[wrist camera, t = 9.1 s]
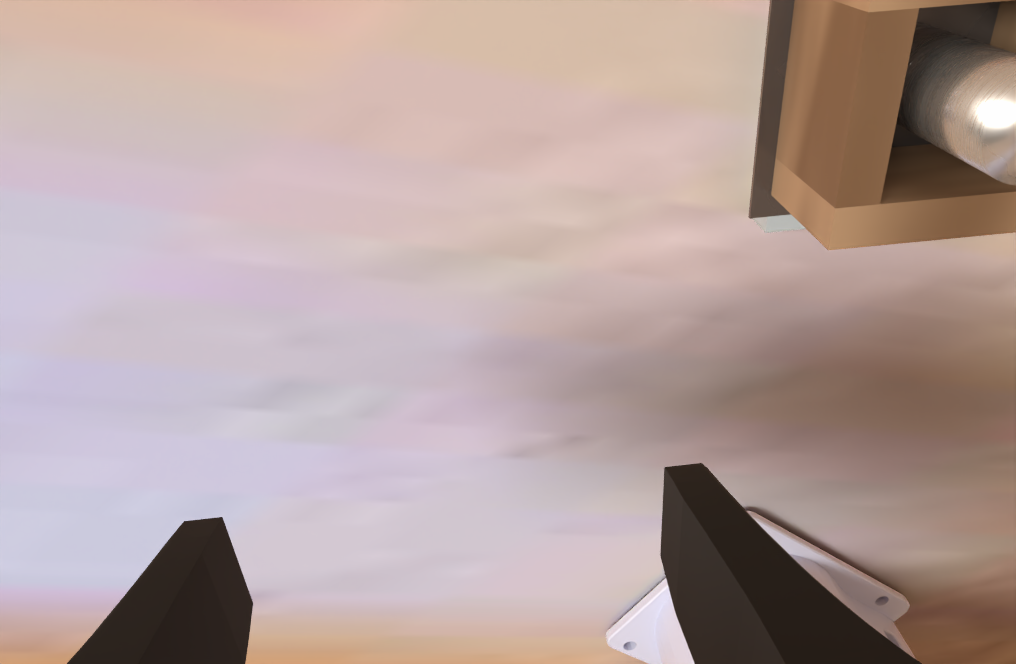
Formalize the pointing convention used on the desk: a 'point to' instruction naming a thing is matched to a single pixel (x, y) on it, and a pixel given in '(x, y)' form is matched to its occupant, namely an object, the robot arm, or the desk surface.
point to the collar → (873, 133)
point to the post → (916, 94)
